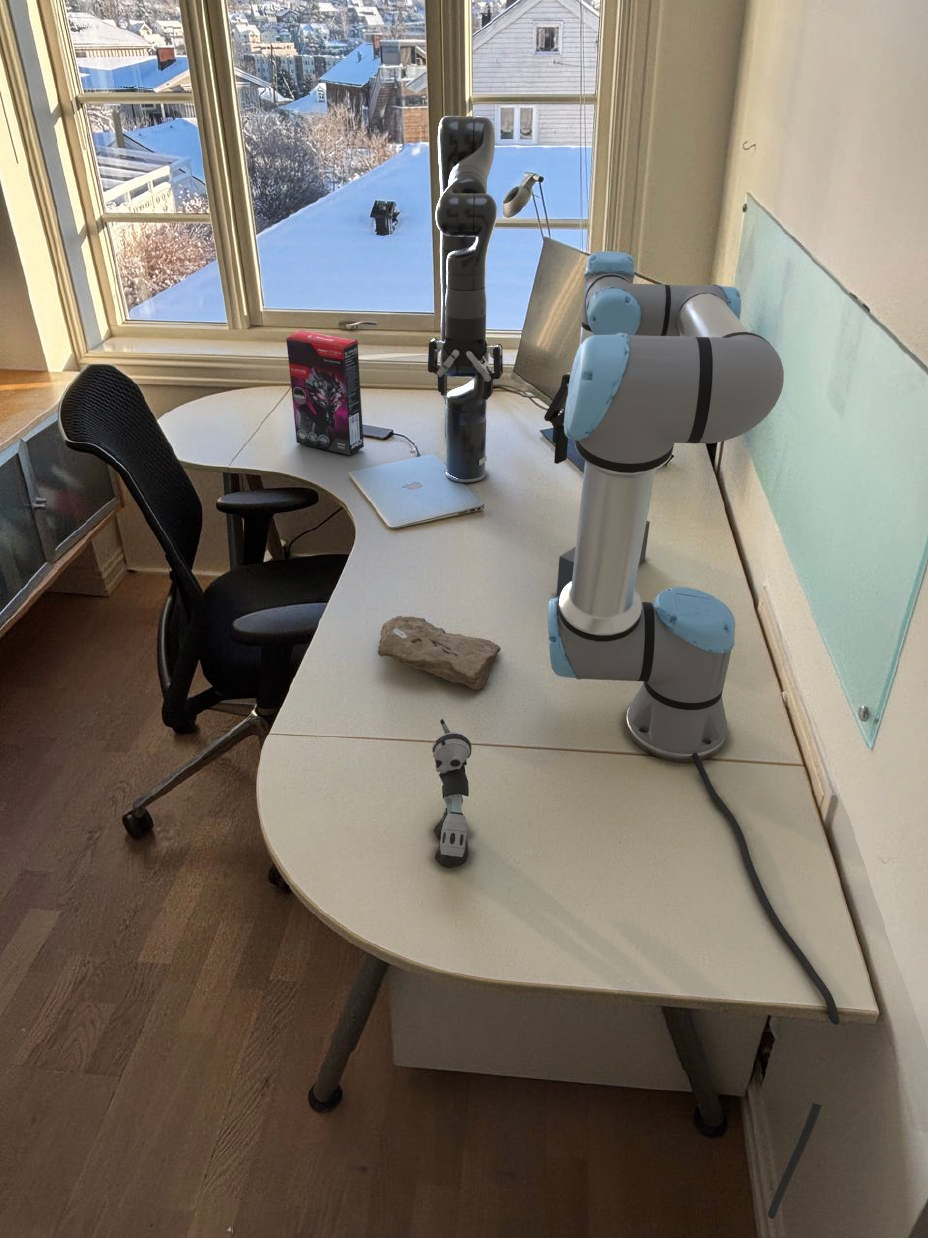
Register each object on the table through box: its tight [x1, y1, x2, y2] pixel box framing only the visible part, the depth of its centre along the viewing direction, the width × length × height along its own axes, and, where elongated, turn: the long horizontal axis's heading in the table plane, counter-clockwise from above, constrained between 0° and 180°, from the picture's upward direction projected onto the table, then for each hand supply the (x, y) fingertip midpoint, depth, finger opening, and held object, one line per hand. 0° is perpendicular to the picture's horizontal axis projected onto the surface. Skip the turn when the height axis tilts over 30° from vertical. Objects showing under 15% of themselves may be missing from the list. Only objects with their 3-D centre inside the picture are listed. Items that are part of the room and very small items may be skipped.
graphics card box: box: [285, 330, 365, 456], centre depth 225 cm, size 17×7×27 cm, turn 62°
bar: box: [556, 520, 651, 597], centre depth 179 cm, size 23×5×9 cm, turn 138°
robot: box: [431, 718, 473, 868], centre depth 118 cm, size 20×5×20 cm, turn 3°
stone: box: [377, 615, 502, 691], centre depth 155 cm, size 21×15×6 cm
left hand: (465, 396), depth 178 cm, fingers open, 8 cm apart
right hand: (591, 472), depth 163 cm, fingers open, 13 cm apart
